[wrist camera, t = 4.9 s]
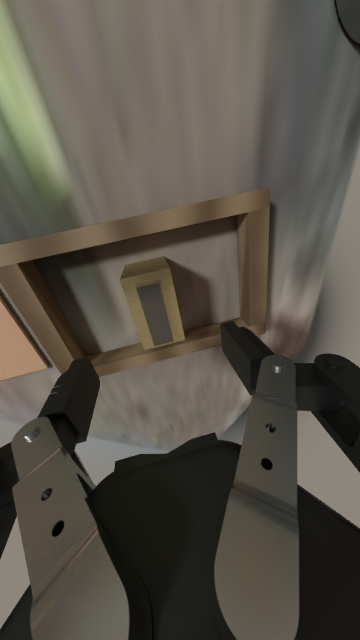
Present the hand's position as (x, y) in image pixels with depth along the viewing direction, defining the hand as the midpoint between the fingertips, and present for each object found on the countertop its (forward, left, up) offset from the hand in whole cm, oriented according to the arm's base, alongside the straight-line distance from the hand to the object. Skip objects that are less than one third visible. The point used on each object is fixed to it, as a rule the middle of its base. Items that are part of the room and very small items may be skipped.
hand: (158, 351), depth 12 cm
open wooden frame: (0, 0, -11) cm, 11 cm away
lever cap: (0, 0, -11) cm, 11 cm away
